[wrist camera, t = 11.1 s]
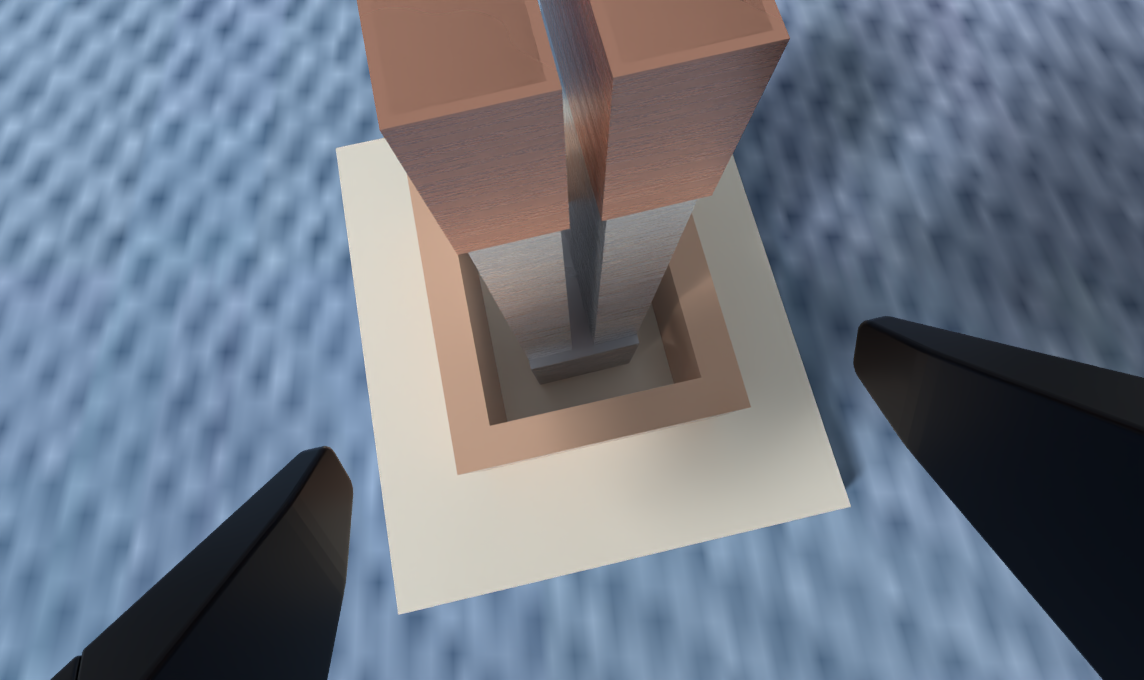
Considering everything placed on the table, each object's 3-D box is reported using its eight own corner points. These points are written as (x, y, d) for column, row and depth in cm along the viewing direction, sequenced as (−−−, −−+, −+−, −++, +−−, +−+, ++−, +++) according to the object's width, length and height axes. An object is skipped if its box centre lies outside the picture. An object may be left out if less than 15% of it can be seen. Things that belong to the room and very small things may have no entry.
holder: (831, 503, 17) (927, 520, 12) (411, 603, 16) (344, 661, 12) (697, 93, 20) (731, -14, 16) (350, 166, 20) (280, 78, 15)
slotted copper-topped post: (632, 362, 17) (795, 54, 4) (536, 385, 16) (382, 148, 4) (598, 238, 18) (639, -330, 5) (508, 259, 17) (309, -266, 5)
